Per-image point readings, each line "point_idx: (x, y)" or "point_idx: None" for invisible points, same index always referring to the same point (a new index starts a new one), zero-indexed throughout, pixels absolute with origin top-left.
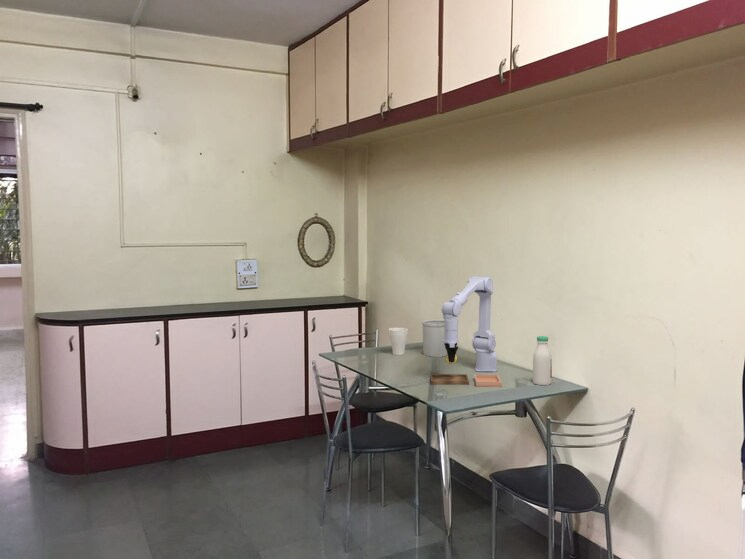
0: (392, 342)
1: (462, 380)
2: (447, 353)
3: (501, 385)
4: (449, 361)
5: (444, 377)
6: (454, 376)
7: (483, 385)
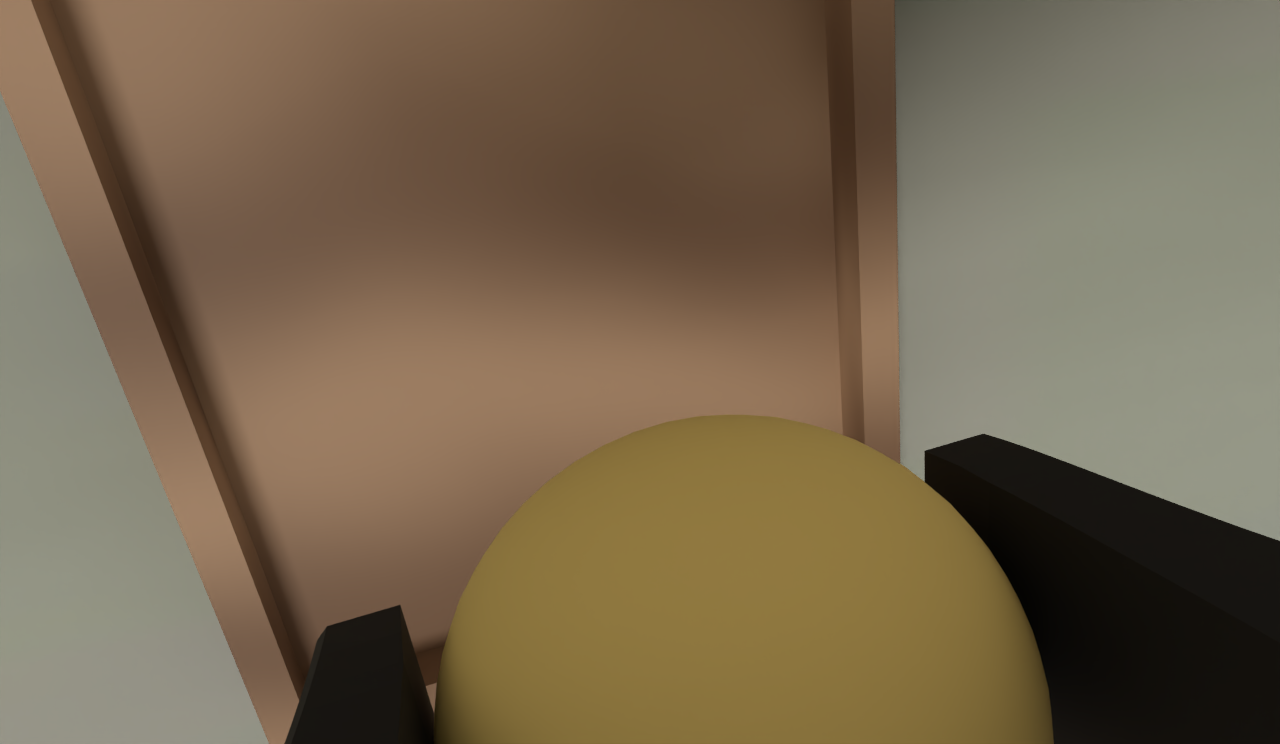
0: None
1: None
2: (1161, 583)
3: None
4: (318, 670)
5: (736, 67)
6: (841, 308)
7: None
